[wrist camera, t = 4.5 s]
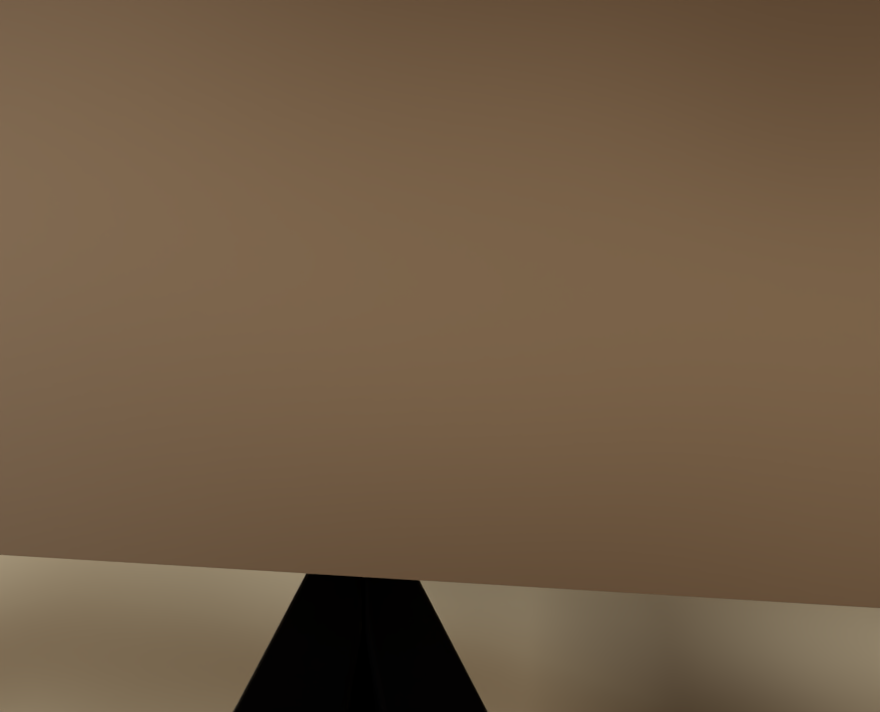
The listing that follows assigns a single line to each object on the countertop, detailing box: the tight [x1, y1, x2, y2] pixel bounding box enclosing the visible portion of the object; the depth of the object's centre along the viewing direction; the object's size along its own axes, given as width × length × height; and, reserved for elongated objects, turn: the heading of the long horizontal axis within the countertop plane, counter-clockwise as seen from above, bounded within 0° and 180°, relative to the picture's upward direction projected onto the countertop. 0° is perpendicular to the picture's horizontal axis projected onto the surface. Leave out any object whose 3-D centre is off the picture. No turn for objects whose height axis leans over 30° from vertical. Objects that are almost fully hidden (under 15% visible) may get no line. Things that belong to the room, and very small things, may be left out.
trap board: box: [0, 555, 880, 712], centre depth 16 cm, size 20×22×4 cm
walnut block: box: [0, 0, 880, 608], centre depth 11 cm, size 7×7×10 cm
